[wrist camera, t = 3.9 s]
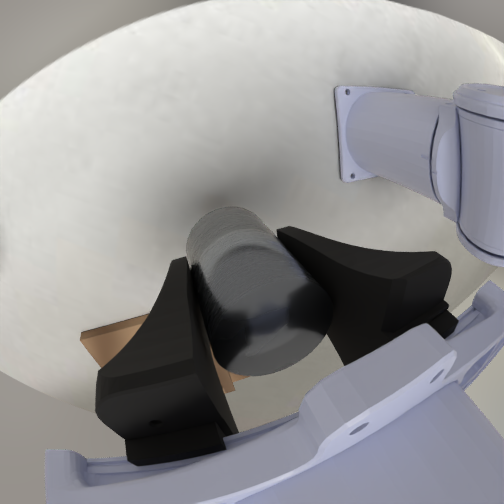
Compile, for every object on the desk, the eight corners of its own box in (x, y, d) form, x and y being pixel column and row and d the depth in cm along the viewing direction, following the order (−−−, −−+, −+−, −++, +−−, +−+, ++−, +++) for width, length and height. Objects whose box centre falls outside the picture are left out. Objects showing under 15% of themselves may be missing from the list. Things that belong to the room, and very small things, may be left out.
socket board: (249, 283, 23) (263, 308, 21) (265, 363, 30) (276, 386, 27) (81, 332, 20) (76, 361, 17) (136, 399, 27) (138, 424, 24)
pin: (262, 197, 12) (335, 262, 7) (271, 268, 15) (329, 349, 10) (176, 221, 12) (195, 309, 7) (198, 291, 14) (228, 388, 9)
